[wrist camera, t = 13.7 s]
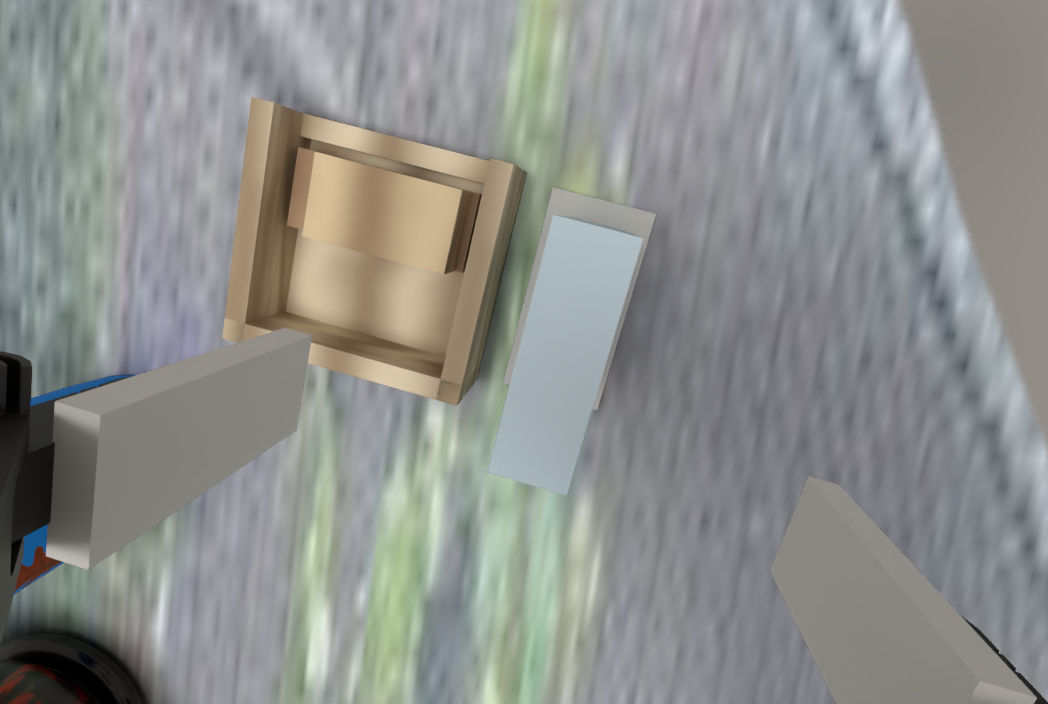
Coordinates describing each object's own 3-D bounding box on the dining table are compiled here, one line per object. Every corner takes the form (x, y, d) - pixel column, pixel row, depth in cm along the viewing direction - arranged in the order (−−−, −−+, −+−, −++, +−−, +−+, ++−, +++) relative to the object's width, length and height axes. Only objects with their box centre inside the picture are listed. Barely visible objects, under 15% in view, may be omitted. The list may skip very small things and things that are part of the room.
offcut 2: (471, 192, 36) (462, 190, 33) (454, 270, 37) (443, 274, 34) (335, 156, 36) (314, 151, 34) (322, 235, 37) (302, 236, 35)
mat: (655, 214, 38) (656, 213, 38) (597, 407, 42) (597, 410, 41) (553, 187, 39) (552, 187, 38) (504, 381, 42) (502, 383, 41)
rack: (526, 172, 39) (513, 164, 33) (476, 380, 42) (456, 405, 36) (302, 115, 40) (251, 97, 34) (272, 322, 43) (222, 338, 37)
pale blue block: (579, 384, 41) (566, 495, 24) (531, 371, 41) (487, 472, 25) (624, 230, 38) (643, 238, 22) (572, 216, 38) (553, 214, 22)
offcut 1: (487, 196, 38) (479, 194, 36) (471, 269, 40) (462, 272, 37) (318, 151, 39) (298, 147, 36) (307, 225, 40) (286, 225, 38)
